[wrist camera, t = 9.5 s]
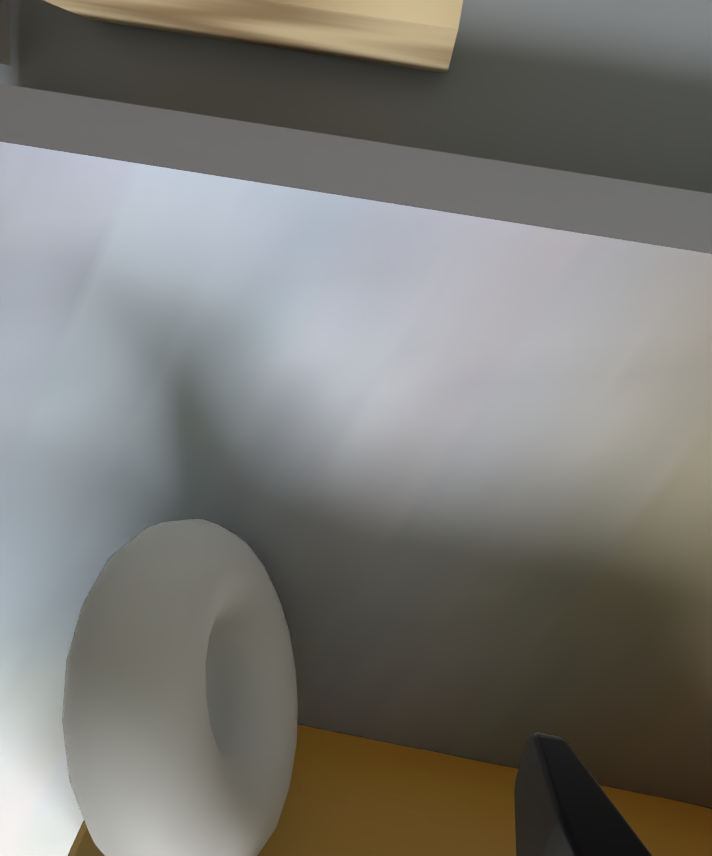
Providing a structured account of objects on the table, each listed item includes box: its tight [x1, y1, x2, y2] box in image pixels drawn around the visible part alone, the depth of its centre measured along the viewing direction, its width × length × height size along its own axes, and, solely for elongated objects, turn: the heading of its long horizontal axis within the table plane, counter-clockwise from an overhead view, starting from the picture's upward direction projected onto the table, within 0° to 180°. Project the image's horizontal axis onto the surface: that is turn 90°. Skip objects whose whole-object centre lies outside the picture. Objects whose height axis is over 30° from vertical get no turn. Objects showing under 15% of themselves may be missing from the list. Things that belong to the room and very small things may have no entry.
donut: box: [62, 519, 298, 856], centre depth 20 cm, size 10×4×10 cm, turn 15°
